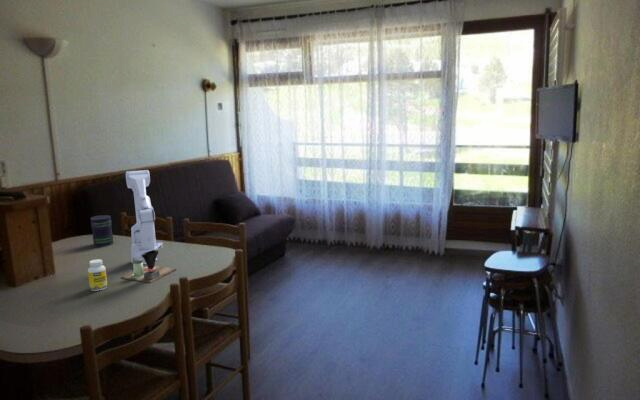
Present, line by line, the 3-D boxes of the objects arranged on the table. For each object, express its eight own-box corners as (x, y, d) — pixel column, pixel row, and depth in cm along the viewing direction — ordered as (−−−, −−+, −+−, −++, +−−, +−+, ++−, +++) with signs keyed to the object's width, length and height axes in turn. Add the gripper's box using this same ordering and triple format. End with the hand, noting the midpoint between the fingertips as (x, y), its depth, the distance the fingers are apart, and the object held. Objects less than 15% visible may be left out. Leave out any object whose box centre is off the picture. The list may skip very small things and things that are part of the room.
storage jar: (108, 246, 246) (105, 219, 243) (90, 247, 246) (86, 219, 243) (116, 241, 256) (113, 214, 253) (99, 241, 256) (95, 215, 253)
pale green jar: (139, 277, 199) (137, 261, 198) (132, 276, 201) (130, 260, 199) (146, 274, 203) (144, 258, 201) (138, 273, 204) (137, 257, 203)
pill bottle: (90, 292, 185) (86, 264, 183) (89, 287, 191) (86, 260, 189) (108, 289, 188) (105, 262, 186) (107, 284, 194) (104, 257, 192)
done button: (145, 272, 198) (145, 268, 197) (151, 269, 201) (150, 266, 200) (151, 273, 197) (151, 269, 196) (157, 270, 199) (156, 267, 199)
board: (121, 278, 200) (120, 271, 200) (148, 266, 215) (147, 259, 214) (151, 282, 194) (150, 275, 194) (176, 270, 209) (175, 263, 208)
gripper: (143, 242, 187) (146, 275, 190) (167, 233, 201) (170, 263, 203) (129, 241, 190) (132, 273, 193) (154, 232, 203) (157, 261, 206)
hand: (151, 268), depth 198 cm, fingers closed
